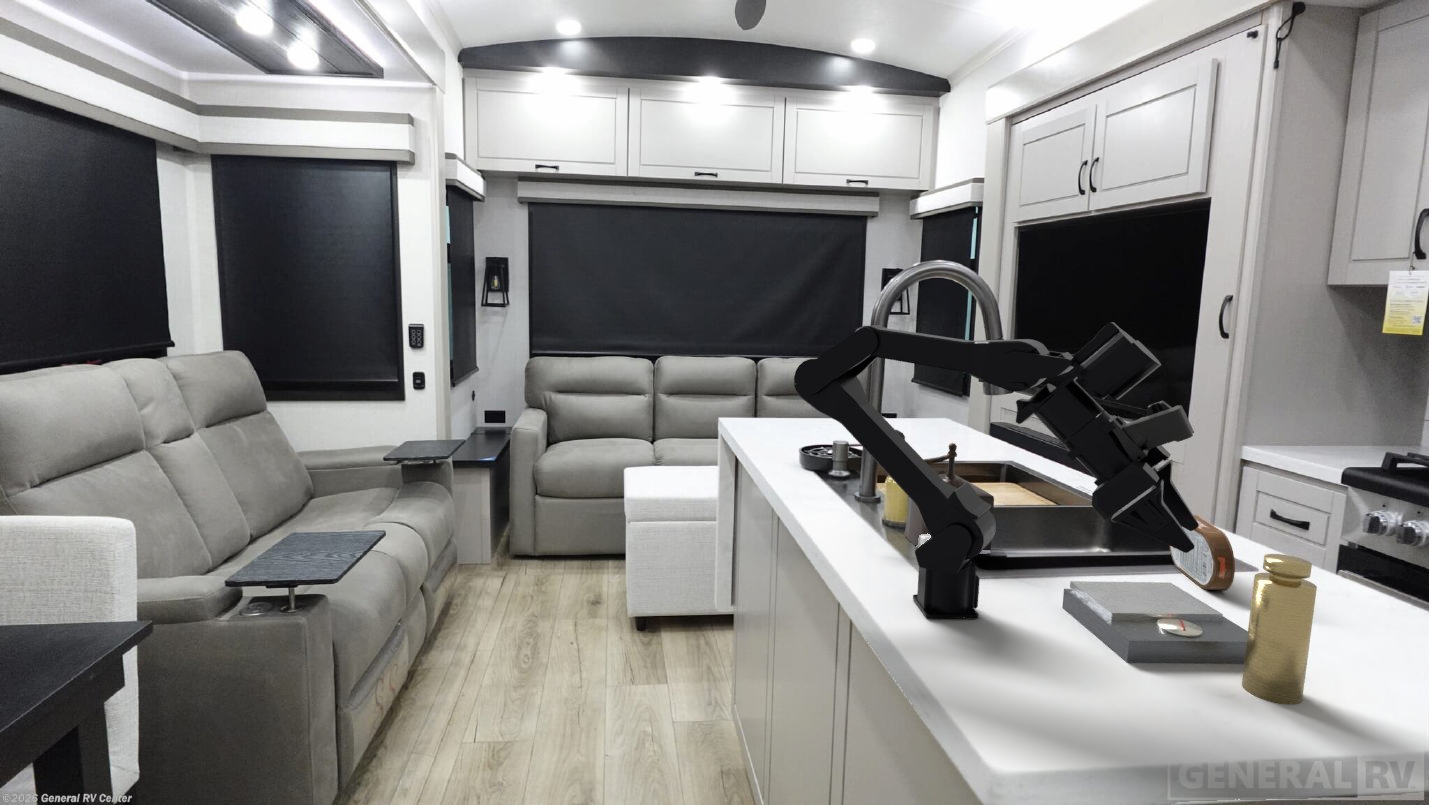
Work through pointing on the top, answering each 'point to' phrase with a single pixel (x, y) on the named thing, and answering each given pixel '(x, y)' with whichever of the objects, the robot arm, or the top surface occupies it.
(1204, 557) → the tin
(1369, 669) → the top surface
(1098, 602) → the scale
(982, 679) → the top surface
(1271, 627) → the weight
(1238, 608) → the top surface
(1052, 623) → the top surface
